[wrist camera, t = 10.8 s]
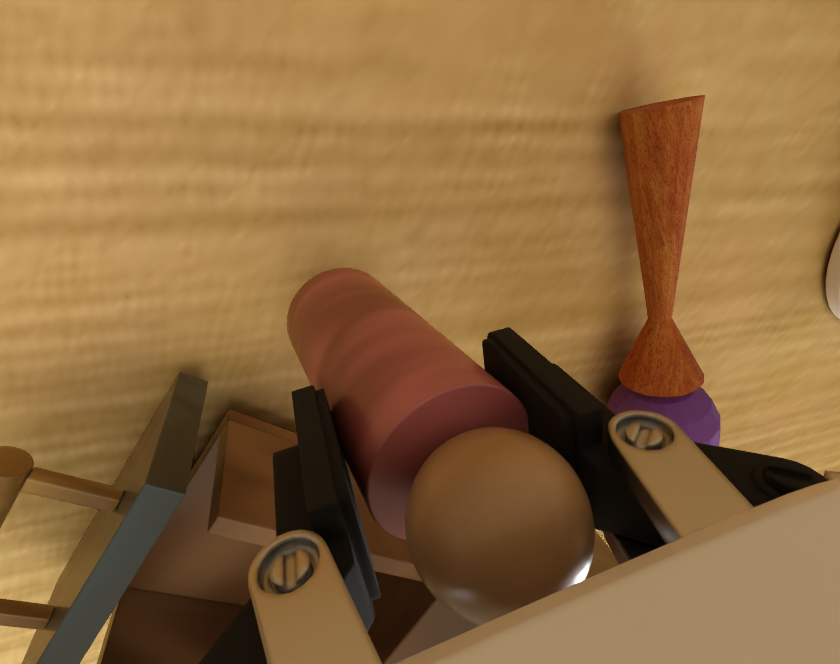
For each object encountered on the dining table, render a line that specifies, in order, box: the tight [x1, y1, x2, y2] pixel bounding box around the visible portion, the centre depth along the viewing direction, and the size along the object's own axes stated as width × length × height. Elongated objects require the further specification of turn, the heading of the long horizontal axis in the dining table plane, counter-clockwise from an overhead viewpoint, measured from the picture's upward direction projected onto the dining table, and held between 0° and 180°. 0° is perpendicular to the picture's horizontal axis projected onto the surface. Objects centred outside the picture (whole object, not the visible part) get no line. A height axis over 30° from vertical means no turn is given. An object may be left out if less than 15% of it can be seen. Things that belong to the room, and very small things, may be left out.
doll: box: [287, 268, 595, 626], centre depth 12 cm, size 4×4×12 cm
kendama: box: [606, 95, 720, 447], centre depth 24 cm, size 6×6×20 cm
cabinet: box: [377, 531, 619, 664], centre depth 27 cm, size 16×14×9 cm
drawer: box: [0, 372, 427, 664], centre depth 20 cm, size 19×12×7 cm, turn 54°
